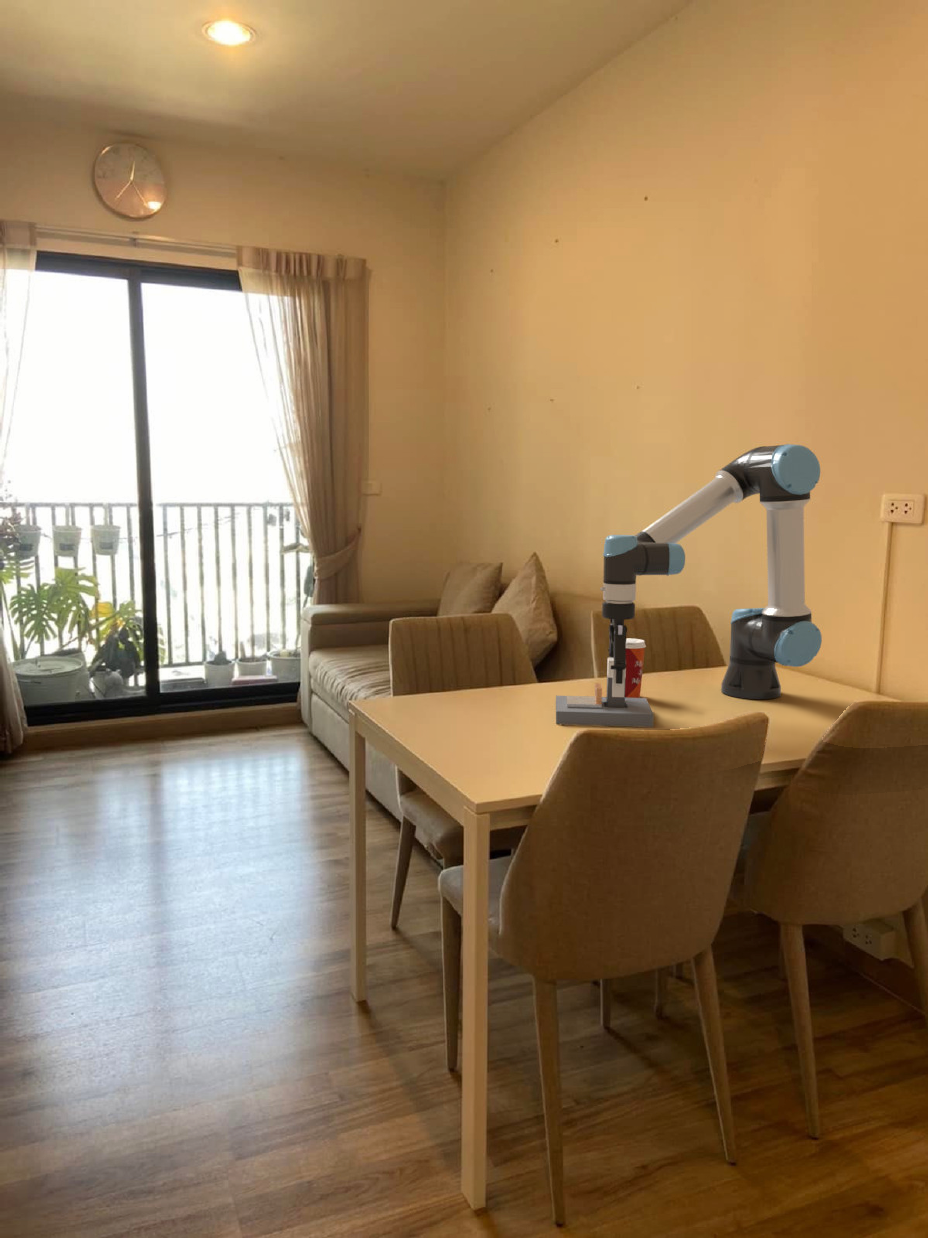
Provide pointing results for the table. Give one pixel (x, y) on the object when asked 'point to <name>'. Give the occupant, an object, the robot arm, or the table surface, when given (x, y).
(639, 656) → the coffee cup
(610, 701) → the grey white tall block
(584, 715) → the block
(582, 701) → the light gray plate
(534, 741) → the table surface
